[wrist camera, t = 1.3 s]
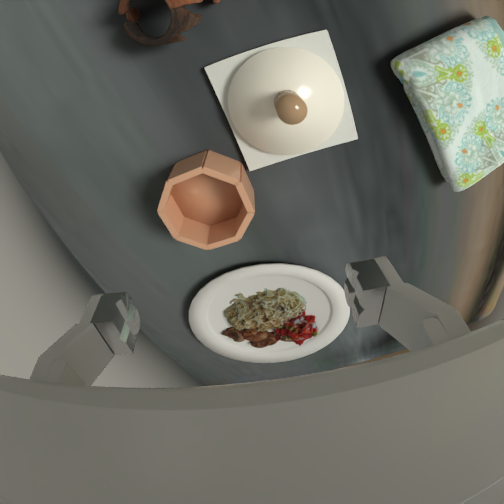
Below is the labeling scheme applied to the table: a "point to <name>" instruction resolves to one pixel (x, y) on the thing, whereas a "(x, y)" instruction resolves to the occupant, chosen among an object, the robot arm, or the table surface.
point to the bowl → (207, 200)
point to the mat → (311, 42)
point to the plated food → (269, 312)
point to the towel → (459, 98)
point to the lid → (286, 101)
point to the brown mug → (179, 23)
